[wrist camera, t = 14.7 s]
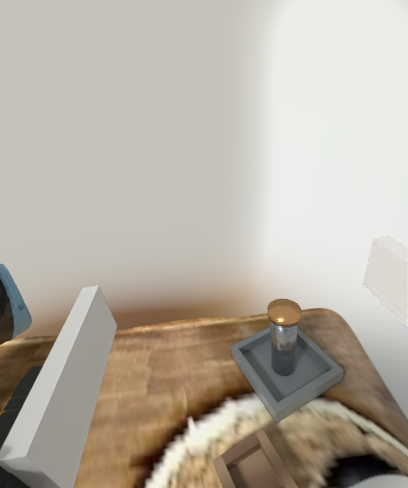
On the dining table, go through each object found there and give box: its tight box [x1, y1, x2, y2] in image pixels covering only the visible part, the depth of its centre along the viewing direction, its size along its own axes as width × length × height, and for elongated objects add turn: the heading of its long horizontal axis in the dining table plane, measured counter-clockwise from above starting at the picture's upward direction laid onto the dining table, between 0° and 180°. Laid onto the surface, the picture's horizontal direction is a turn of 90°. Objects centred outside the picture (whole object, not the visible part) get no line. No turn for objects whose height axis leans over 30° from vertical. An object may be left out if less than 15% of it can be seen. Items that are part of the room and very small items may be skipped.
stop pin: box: [268, 299, 301, 376], centre depth 38 cm, size 4×4×12 cm
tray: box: [230, 326, 344, 424], centre depth 41 cm, size 12×12×2 cm
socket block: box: [213, 428, 298, 488], centre depth 29 cm, size 7×7×2 cm
